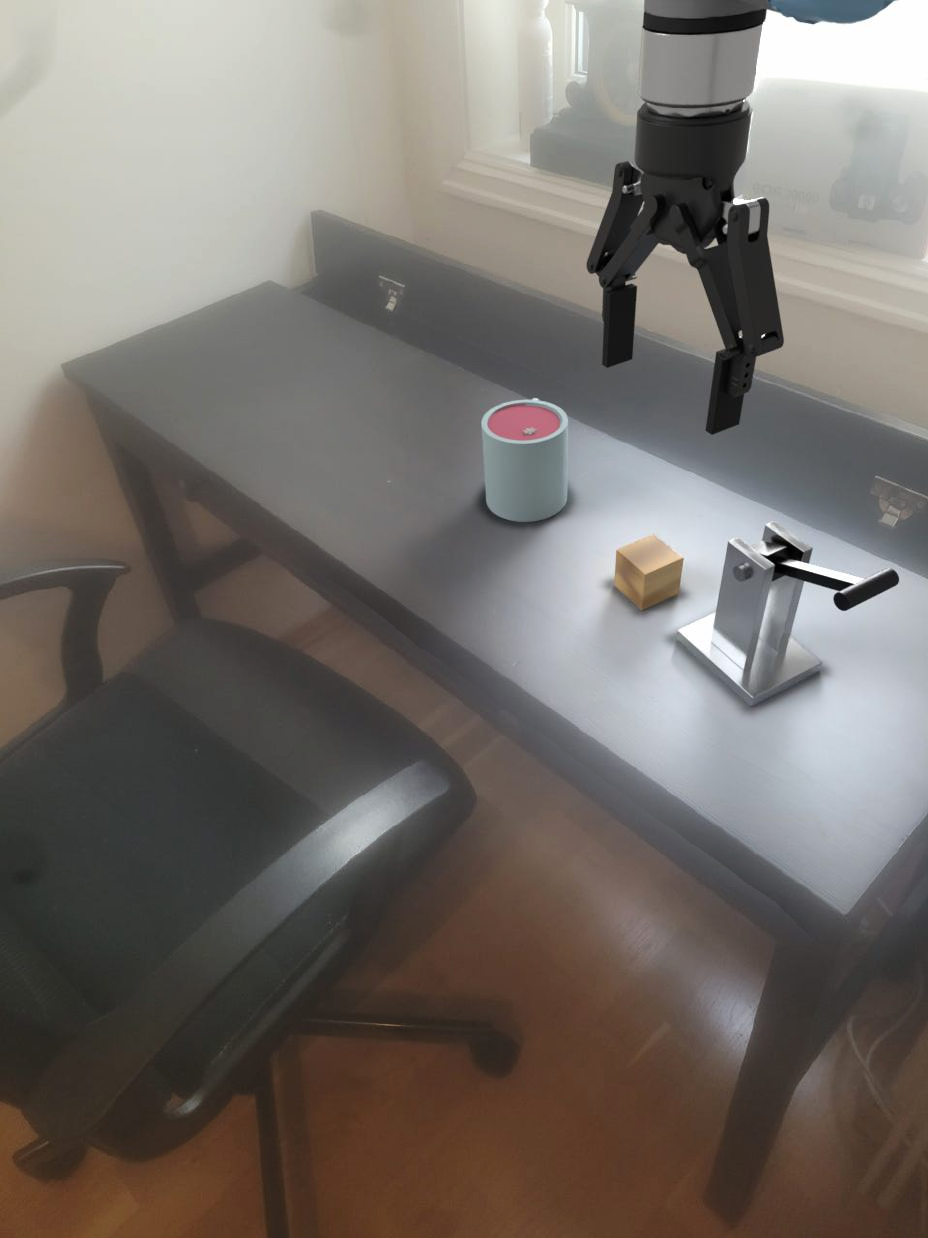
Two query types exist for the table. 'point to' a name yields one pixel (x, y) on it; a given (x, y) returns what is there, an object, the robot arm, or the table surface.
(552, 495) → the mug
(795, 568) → the lever
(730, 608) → the bracket
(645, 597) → the block
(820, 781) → the table surface
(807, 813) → the table surface
